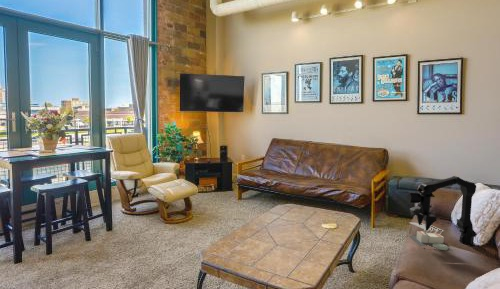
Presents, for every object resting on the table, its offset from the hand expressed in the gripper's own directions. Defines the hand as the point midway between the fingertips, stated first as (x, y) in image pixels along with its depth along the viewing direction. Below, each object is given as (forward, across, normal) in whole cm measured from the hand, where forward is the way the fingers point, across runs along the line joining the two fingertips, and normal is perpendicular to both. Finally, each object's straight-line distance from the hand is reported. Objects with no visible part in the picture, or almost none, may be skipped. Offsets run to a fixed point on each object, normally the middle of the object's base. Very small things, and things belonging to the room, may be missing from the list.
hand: (423, 227), depth 203 cm
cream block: (+9, 0, 0) cm, 9 cm away
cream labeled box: (+9, 0, +7) cm, 11 cm away
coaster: (+9, +9, +7) cm, 14 cm away
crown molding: (+10, -22, +16) cm, 29 cm away
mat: (+9, +2, +3) cm, 10 cm away
